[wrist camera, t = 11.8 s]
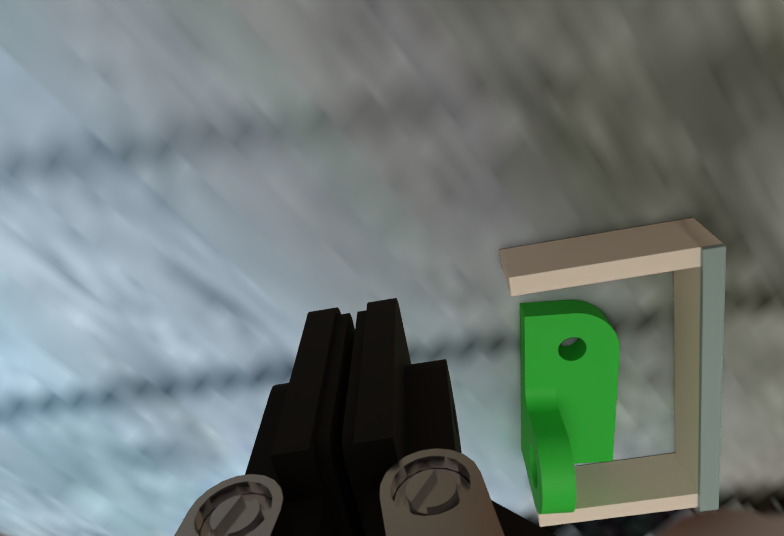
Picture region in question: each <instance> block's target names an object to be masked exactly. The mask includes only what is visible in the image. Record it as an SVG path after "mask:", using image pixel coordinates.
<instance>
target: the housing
mask: <svg viewBox="0 0 784 536" xmlns="http://www.w3.org/2000/svg"><path fill="white" fill-rule="evenodd" d="M499 251H500V258H501V266H502V270H503V273H504V276H505V279H506V282H507V285H508V288H509V291H510V294H511V296H516V295H523V294H529V293H535V292H542V291H548V290H554V289H561V288H567V287H573V286H580V285H586V284H592V283H599V282H605V281H611V280H618V279H624V278H630V277H637V276H643V275H649V274H656V273H662V272H668V271H674V381H675V453H671V454H663V455H656V456H648V457H641V458H633V459H626V460H618V461H611V462H603V463H596V464H588V465H581V466H574V468H575V478H576V507H575V510H574V512H571V513H553V514H539V513H538V511H537V509H536V512H537V516H538V520H539V524H540V527H542V526H550V525H558V524H566V523H574V522H582V521H590V520H598V519H606V518H614V517H622V516H630V515H637V514H645V513H653V512H661V511H669V510H677V509H685V508H693V507H698V509H699V511H708V510H716V509H718V507H719V473H720V439H721V405H722V371H723V337H724V302H725V268H726V246H725V245H724V244H723V243H722V242H721V241H720V240H718V239H717V238H716V237H715V236H714V235H713V234H712V233H710V232H709V231H708V230H707V229H706V228H705V227H704V226H702V225H701V224H700V223H699V222H698V221H697V220H696V219H694V218H689V219H683V220H677V221H671V222H665V223H659V224H653V225H647V226H641V227H634V228H628V229H622V230H616V231H610V232H604V233H598V234H592V235H586V236H580V237H574V238H568V239H562V240H556V241H549V242H543V243H537V244H531V245H525V246H519V247H513V248H507V249H501V250H499ZM530 488H531V486H530ZM531 492H532V490H531ZM532 496H533V494H532ZM533 500H534V498H533ZM534 504H535V502H534ZM535 508H536V506H535Z"/></svg>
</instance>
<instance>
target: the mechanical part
mask: <svg viewBox="0 0 784 536" xmlns="http://www.w3.org/2000/svg"><path fill="white" fill-rule="evenodd" d="M569 337H578V340H577V341H576V342H575V343H573V344H572V345H569V346H560V343H561V342H562V341H563V340H565V339H567V338H569ZM619 355H620V345H619V340H618V337H617V335H616V333H615V331H614V329H613V328H612V326H611V324H610V323H609V321H608V319H607V317H606V316H605V315H604V313H603V312H602V311H601V310H599V309H598V308H597V307H595V306H594V305H592V304H590V303H587V302H584V301H579V300H558V301H544V302H531V303H520V357H521V449H522V453H523V458H524V462H525V466H526V470H527V474H528V478H529V482H530V486H531V490H532V494H533V498H534V502H535V506H536V509H537V511H538V513H539V514H553V513H571V512H574V510H575V507H576V478H575V468H574V463H590V462H606V461H613V446H614V431H615V416H616V400H617V385H618V370H619Z"/></svg>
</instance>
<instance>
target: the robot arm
mask: <svg viewBox="0 0 784 536" xmlns="http://www.w3.org/2000/svg"><path fill="white" fill-rule="evenodd" d="M174 536H556V535H554V534H552V533H550V532H548V531H547V530H545V529H543V528H541V527H539V526H537V525H536V524H534V523H532V522H530V521H528V520H527V519H525V518H523V517H521V516H519V515H517V514H516V513H514V512H512V511H510V510H508V509H506V508H505V507H503V506H501V505H499V504H497V503H496V502H494V501H492V500H491V498H490V496H489V493H488V490H487V488H486V485H485V482H484V480H483V477H482V474H481V472H480V470H479V469H478V467H477V466H476V464H475V462H474V461H472V460H471V459H470V458H468V457H467V456H466V455H464V454H462V453H461V445H460V437H459V430H458V423H457V416H456V410H455V404H454V398H453V392H452V387H451V381H450V376H449V371H448V365H447V361H446V359H444V360H437V361H430V362H424V363H417V364H411V361H410V356H409V351H408V347H407V342H406V337H405V332H404V327H403V323H402V318H401V313H400V308H399V304H398V301H397V298H393V299H387V300H381V301H375V302H369V303H368V304H367V310H366V311H360V312H358V313H357V320H356V328H354V324H353V320H352V317H351V314H350V313H347V314H341V313H340V310H339V309H338V307H337V308H331V309H325V310H319V311H313V312H309V313H308V315H307V319H306V322H305V326H304V330H303V334H302V337H301V341H300V345H299V348H298V352H297V356H296V360H295V363H294V367H293V371H292V375H291V378H290V382H289V383H285V384H278V385H275V386H273V387H272V390H271V392H270V395H269V398H268V401H267V405H266V408H265V411H264V414H263V418H262V421H261V424H260V428H259V431H258V434H257V437H256V441H255V444H254V447H253V450H252V454H251V457H250V460H249V463H248V467H247V470H246V473H245V475H241V476H236V477H233V478H230V479H228V480H225V481H222V482H220V483H219V484H217V485H215V486H214V487H212V488H210V489H208V490H207V491H206V492H205V493H204V494H203V495H202V496H200V497H199V498H198V499H197V500H196V501H195V503H194V504H193V505H192V507H191V508H190V509H189V511H188V512H187V514H186V516H185V518H184V519H183V521H182V523H181V525H180V527H179V528H178V530H177V532H176V534H175V535H174Z"/></svg>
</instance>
